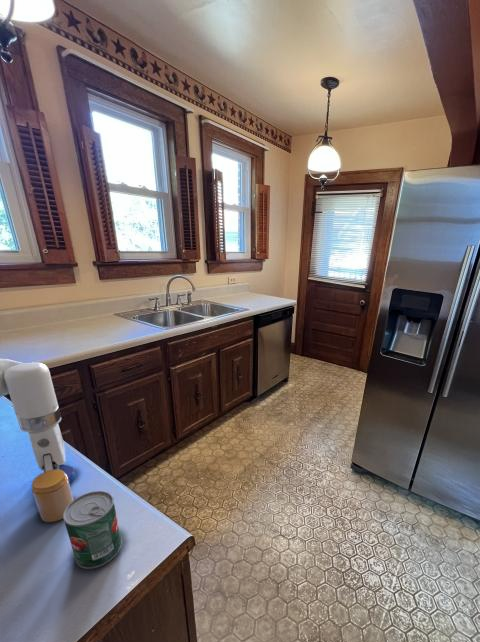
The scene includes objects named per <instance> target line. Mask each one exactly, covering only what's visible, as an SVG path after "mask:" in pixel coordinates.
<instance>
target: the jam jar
mask: <svg viewBox="0 0 480 642" xmlns="http://www.w3.org/2000/svg"><path fill="white" fill-rule="evenodd" d="M31 491H32V495H33V499H34V501H35V504H36V507H37V510H38V513H39V516H40V519H41V520H42V521H43V522H46V523H55V522H58V521H61V520H62V519H63V513H64V510H65V509H66V507H67V506H68V505H69V504H70V503H71V502H72V501H73V500H75V498H74V495H73V491H72V488H71V483H69V480H68V477H67V476H66V473H65V472H64V471H62V470H57V469H56V470H50V471H46V472H44V471H43V472H42V473H40V474H39V475H37V476H36V477H35V478H33V480H32V482H31ZM63 520H64V519H63Z"/></svg>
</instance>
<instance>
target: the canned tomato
mask: <svg viewBox="0 0 480 642" xmlns="http://www.w3.org/2000/svg"><path fill="white" fill-rule="evenodd" d="M114 502H115V500H114V497H113V495H112V494H111V493H110V492H108V491H104V490H96V491H95V490H94V491H90V492H87V493H84V494H82V495H79V496H78V497H76V498H74V500H73V501H72V502H71V503H70V504H69V505H68V506H67V507H66V509H65V510H64V513H63V522H64V526H65V529H66V532H67V535H68V538H69V542H70V545H71V549H72V552H73V556H74V559H75V563H76V565H77V566H78V567H79V568H81V569H85V570H93V569H97V568H99V567H102V566H104V565H106V564H108V563H109V562H110V561H112V560H113V559H114V558H115V557H116V556H117V555H118V554H119V552H120V550H121V548H122V545H123V539H122V537H121V536H122V535H121V530H120V525H119V521H118V515H117V511H116V506H115V503H114Z"/></svg>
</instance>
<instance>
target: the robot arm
mask: <svg viewBox="0 0 480 642" xmlns="http://www.w3.org/2000/svg"><path fill="white" fill-rule="evenodd" d="M54 387H55V386H54V384H53V380H52V376H51V371H50V369H49V367H48V366H47V365H46V364H44V363H41V362H31V361H30V362H21V361H16V360H12V359H8V358H0V398H2V397H4V396H7V395H9V397H10V401H11V404H12V407H13V410H14V414H15V416H16V420H17V422H18V426H19V430H21V431H22V432H25V433H28V437H29V442H30V444H31V448H32V452H33V454H34V458H35V461H36V464H37V466H38V468H39V470H41V471H43V473H44V472H46V471H50V470H53V468H54V467H56V469H57V470H60V469H59V466H61V465H65V463H66V461H67V460H66V445H65V442H64V439H63V436H62V432H61V428H60V425H59V424H60V423H61V421H62V416H61V412H60V411H61V410H60V408H59V407H60V406H59V403H58V399H57V396H56V392H55V388H54Z"/></svg>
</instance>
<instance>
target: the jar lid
mask: <svg viewBox="0 0 480 642" xmlns="http://www.w3.org/2000/svg"><path fill="white" fill-rule="evenodd" d="M59 469H60V470H62V471H64V472H65V473H66V476H67V477H68V480H69V484H71V482H72V481H74V479H75V477H76V473H75V469H74V466H71V465H69V464H64V465H61V466H59ZM53 470H56V467H54V468H53Z"/></svg>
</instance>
